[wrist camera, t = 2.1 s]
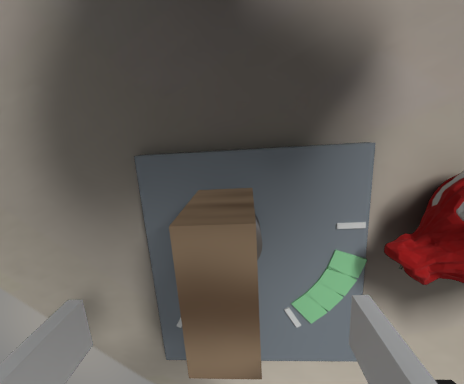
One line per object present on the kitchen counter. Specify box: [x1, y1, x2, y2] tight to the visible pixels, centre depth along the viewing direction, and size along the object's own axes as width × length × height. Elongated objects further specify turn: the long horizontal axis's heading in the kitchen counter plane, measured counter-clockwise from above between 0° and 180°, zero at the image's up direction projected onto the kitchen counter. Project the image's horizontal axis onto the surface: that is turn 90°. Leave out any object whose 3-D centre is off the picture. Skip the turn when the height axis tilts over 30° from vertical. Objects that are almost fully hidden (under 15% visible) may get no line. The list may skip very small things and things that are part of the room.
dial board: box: [134, 142, 375, 361], centre depth 23 cm, size 22×20×1 cm
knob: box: [169, 188, 262, 379], centre depth 18 cm, size 18×5×10 cm, turn 3°
